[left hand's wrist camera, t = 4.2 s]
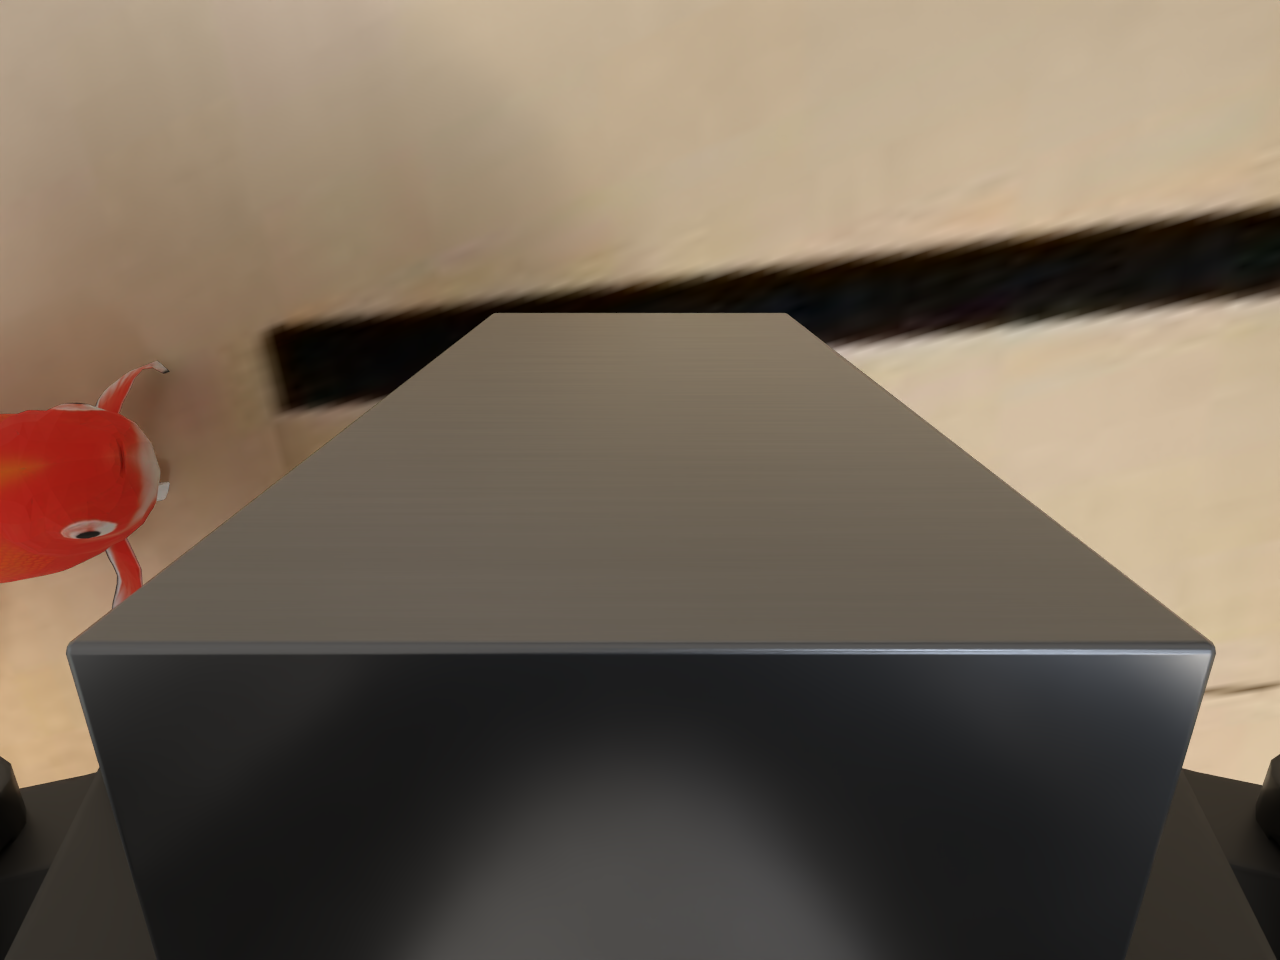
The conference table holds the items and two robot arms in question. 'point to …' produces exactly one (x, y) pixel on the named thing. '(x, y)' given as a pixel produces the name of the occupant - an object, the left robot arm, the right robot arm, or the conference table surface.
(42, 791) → the left robot arm
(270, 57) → the conference table surface
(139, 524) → the fish
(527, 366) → the box
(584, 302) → the conference table surface
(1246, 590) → the conference table surface
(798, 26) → the conference table surface
